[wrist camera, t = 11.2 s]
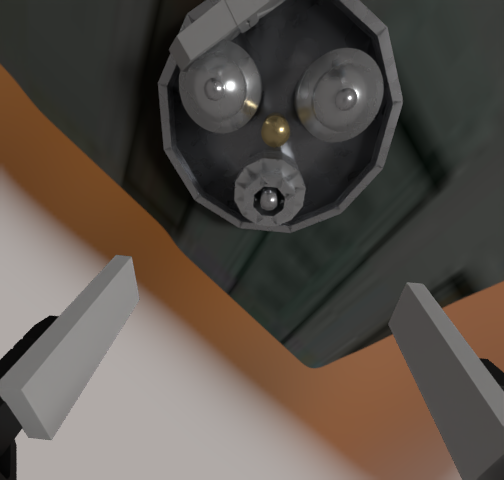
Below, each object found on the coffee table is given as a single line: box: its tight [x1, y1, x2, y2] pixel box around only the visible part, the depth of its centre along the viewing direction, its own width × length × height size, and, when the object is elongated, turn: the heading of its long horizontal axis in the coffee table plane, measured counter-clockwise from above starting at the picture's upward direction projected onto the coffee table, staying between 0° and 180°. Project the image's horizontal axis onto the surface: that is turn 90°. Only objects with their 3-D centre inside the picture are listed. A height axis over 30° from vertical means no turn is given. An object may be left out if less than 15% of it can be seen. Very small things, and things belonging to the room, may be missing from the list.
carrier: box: [158, 0, 403, 233], centre depth 25 cm, size 22×22×8 cm
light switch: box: [169, 0, 285, 72], centre depth 21 cm, size 2×12×8 cm, turn 120°
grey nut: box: [234, 150, 306, 226], centre depth 27 cm, size 7×7×6 cm
